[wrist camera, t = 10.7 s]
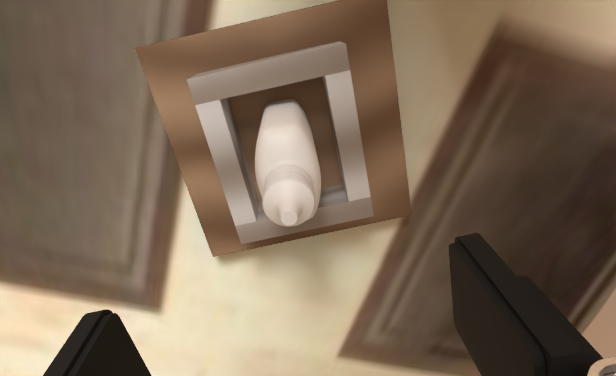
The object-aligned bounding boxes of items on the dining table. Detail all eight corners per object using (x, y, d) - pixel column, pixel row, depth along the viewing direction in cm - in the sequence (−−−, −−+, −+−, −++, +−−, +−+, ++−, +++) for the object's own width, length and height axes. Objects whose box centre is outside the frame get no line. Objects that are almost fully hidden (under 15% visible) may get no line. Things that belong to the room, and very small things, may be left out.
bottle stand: (143, 46, 26) (115, 51, 21) (379, -9, 25) (398, -15, 21) (216, 246, 32) (205, 280, 28) (405, 206, 31) (424, 234, 27)
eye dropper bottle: (331, 111, 26) (363, 174, 15) (303, 182, 28) (314, 284, 17) (270, 89, 26) (258, 140, 15) (246, 164, 28) (220, 258, 17)
